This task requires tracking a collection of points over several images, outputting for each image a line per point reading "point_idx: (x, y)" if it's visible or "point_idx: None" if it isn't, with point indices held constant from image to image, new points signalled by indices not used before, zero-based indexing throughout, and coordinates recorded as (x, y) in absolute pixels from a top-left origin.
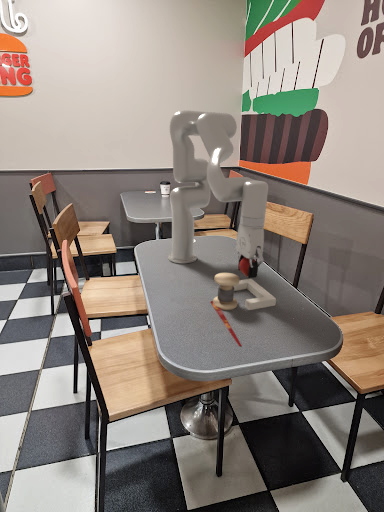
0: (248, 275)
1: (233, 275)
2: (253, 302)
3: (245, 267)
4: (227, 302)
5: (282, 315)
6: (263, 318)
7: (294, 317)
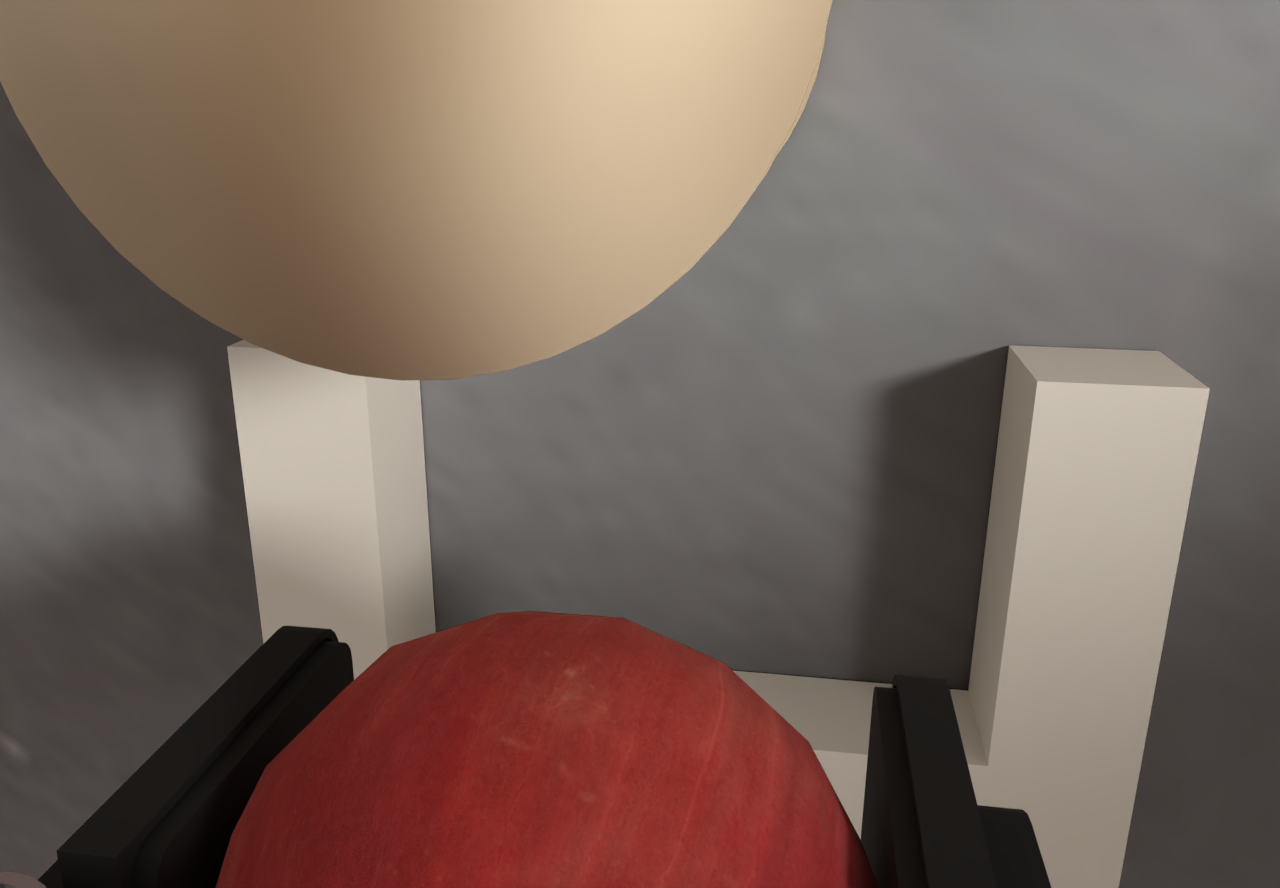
0: (263, 658)
1: (495, 264)
2: (245, 430)
3: (290, 761)
4: None
5: (91, 676)
6: (55, 398)
7: (30, 773)
